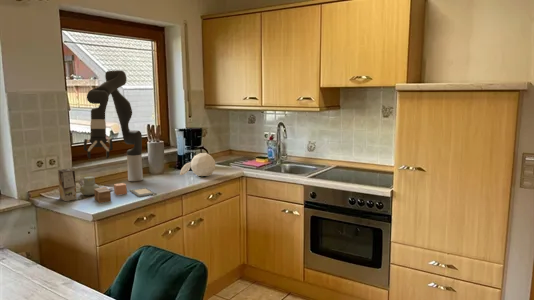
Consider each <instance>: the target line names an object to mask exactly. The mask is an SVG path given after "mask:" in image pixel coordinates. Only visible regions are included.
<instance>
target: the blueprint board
mask: <svg viewBox="0 0 534 300" xmlns="http://www.w3.org/2000/svg"><path fill="white" fill-rule="evenodd" d="M129 192H130V193H132V194H134V195H135V196H136V197H138V198H143V197H149V195H151V196H154V195H153V194H156V195H157V192H154V191H153V190H152V189H149V188H148V187H139V188H133V189H129Z"/></svg>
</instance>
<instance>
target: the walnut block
mask: <svg viewBox="0 0 534 300" xmlns="http://www.w3.org/2000/svg"><path fill="white" fill-rule="evenodd" d="M111 194H112V192H111V190H110V189H108V188H107V187H105V186H104V187H99V188H96V189H94V200H95V201H96V202H97V203H98V204H103V203H109V202H112V196H111Z"/></svg>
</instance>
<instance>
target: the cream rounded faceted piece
mask: <svg viewBox="0 0 534 300" xmlns="http://www.w3.org/2000/svg"><path fill="white" fill-rule="evenodd" d="M190 169H191V171H192V172H193V174H195V175H196V176H198V177H199V176H207V177H208V176H210V175H212V174H213V173H214V171H215V169H216V161H215V159H214V157H213V156H212V155H210V154H209V153H208V152H200V153H197V154H196V155H194V156H193V157H192V159H191V160H190V162H187V163H185V164H184V165H183V166H182V167H181V169H180V172H179V176H183V175H185V174H187V173H188V172H189V171H190Z"/></svg>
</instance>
